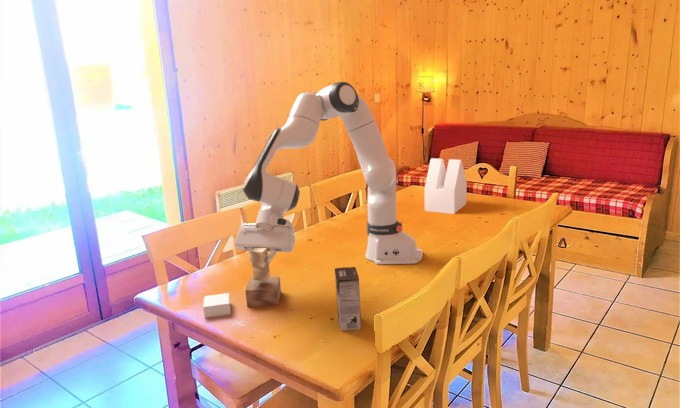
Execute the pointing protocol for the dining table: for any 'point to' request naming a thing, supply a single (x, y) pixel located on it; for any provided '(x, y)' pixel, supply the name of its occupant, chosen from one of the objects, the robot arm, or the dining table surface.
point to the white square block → (216, 305)
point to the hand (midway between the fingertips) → (259, 262)
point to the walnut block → (263, 292)
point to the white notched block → (445, 186)
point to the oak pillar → (260, 263)
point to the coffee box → (348, 298)
